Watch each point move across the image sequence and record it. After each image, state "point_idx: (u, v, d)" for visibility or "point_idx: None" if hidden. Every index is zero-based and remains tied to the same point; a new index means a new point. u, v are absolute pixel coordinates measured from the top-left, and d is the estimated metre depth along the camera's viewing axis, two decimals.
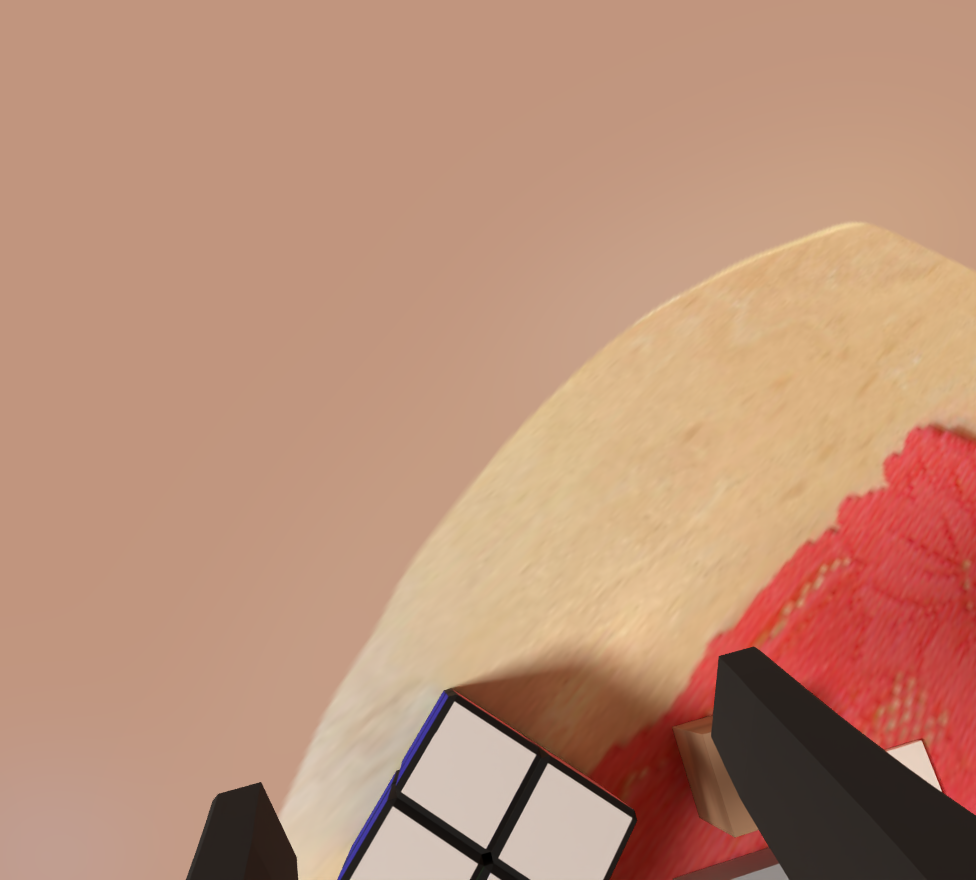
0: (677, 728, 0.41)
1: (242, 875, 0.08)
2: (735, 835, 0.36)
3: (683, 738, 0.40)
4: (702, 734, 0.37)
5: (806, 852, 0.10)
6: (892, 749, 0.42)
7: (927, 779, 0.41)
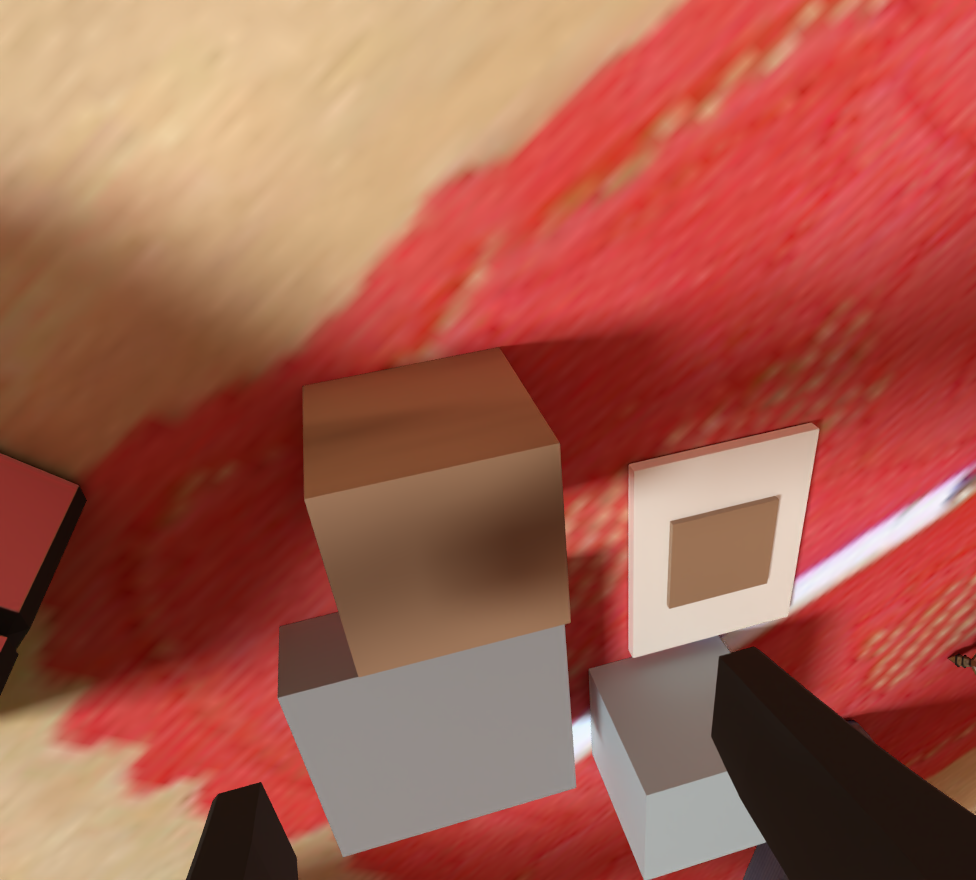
0: (304, 402, 0.16)
1: (242, 875, 0.08)
2: (360, 673, 0.16)
3: None
4: (306, 494, 0.13)
5: (806, 852, 0.10)
6: (759, 441, 0.21)
7: (793, 487, 0.22)
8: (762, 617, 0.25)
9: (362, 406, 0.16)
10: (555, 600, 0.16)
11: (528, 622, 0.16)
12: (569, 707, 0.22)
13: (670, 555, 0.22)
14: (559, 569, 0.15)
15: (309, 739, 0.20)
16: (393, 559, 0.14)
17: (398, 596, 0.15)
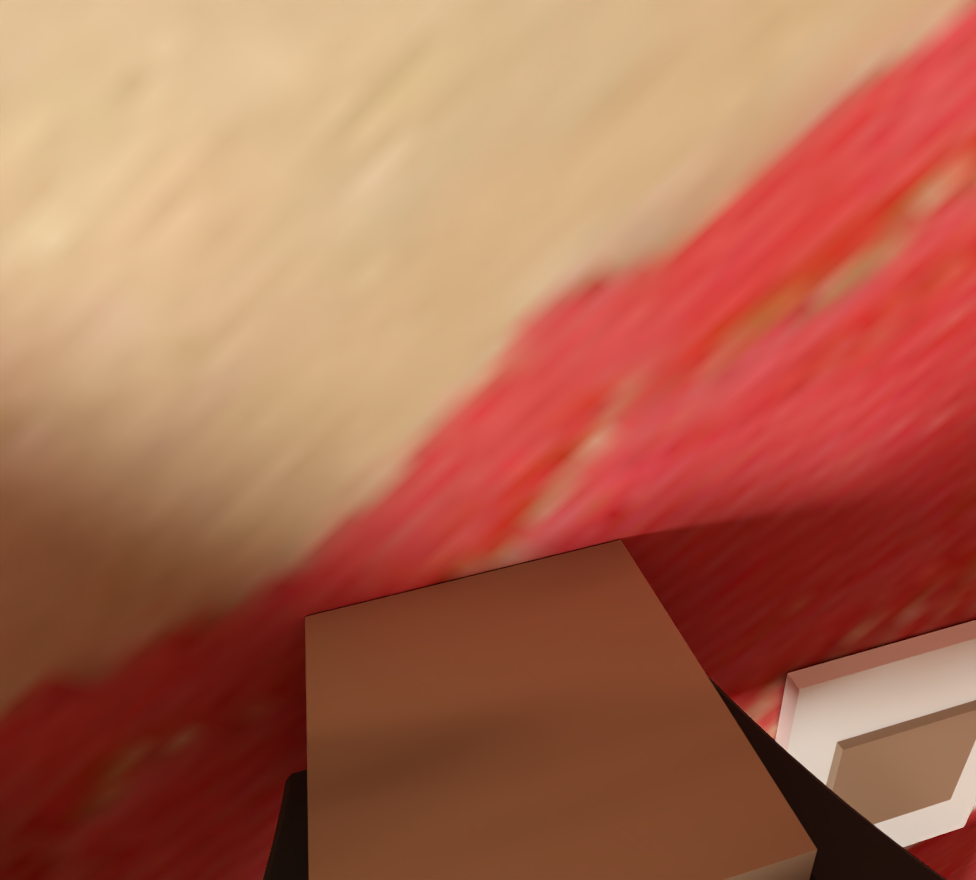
0: (308, 666, 0.10)
1: None
2: None
3: None
4: None
5: None
6: None
7: None
8: (932, 832, 0.18)
9: (410, 688, 0.09)
10: None
11: None
12: None
13: (831, 782, 0.16)
14: None
15: None
16: None
17: None
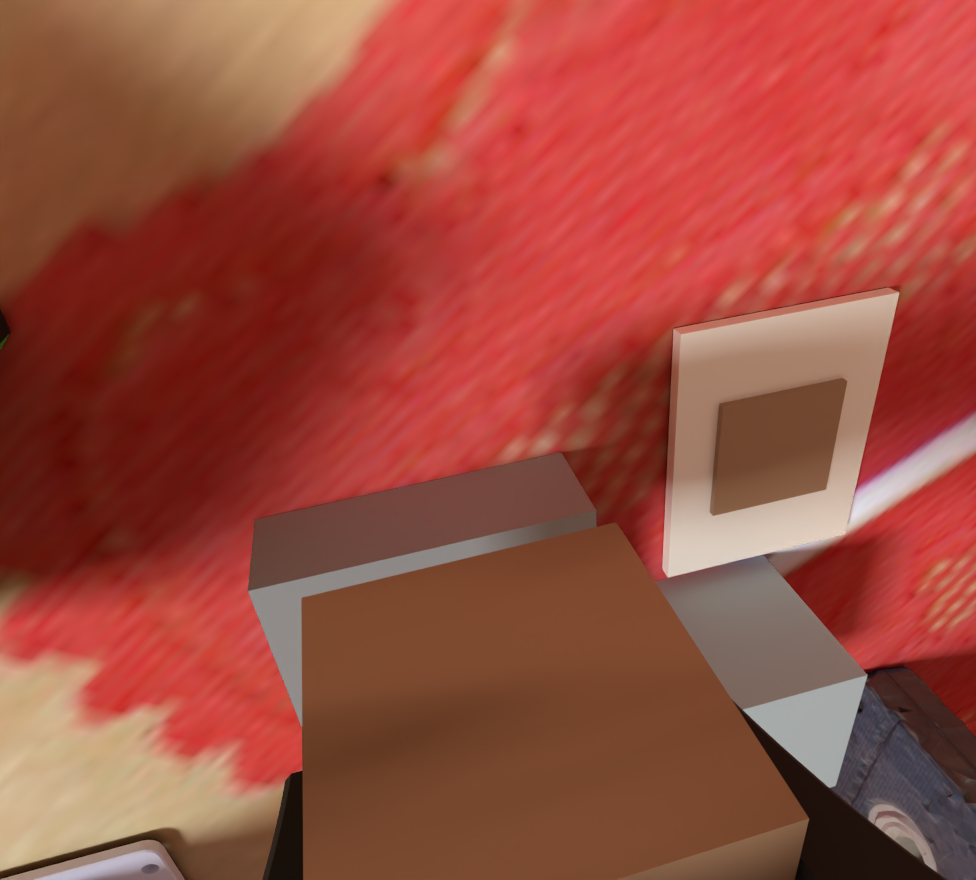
0: (304, 645, 0.10)
1: None
2: None
3: None
4: None
5: None
6: (828, 305, 0.18)
7: (864, 368, 0.19)
8: (817, 533, 0.22)
9: (405, 666, 0.09)
10: None
11: None
12: None
13: (717, 447, 0.19)
14: None
15: (288, 648, 0.16)
16: None
17: None
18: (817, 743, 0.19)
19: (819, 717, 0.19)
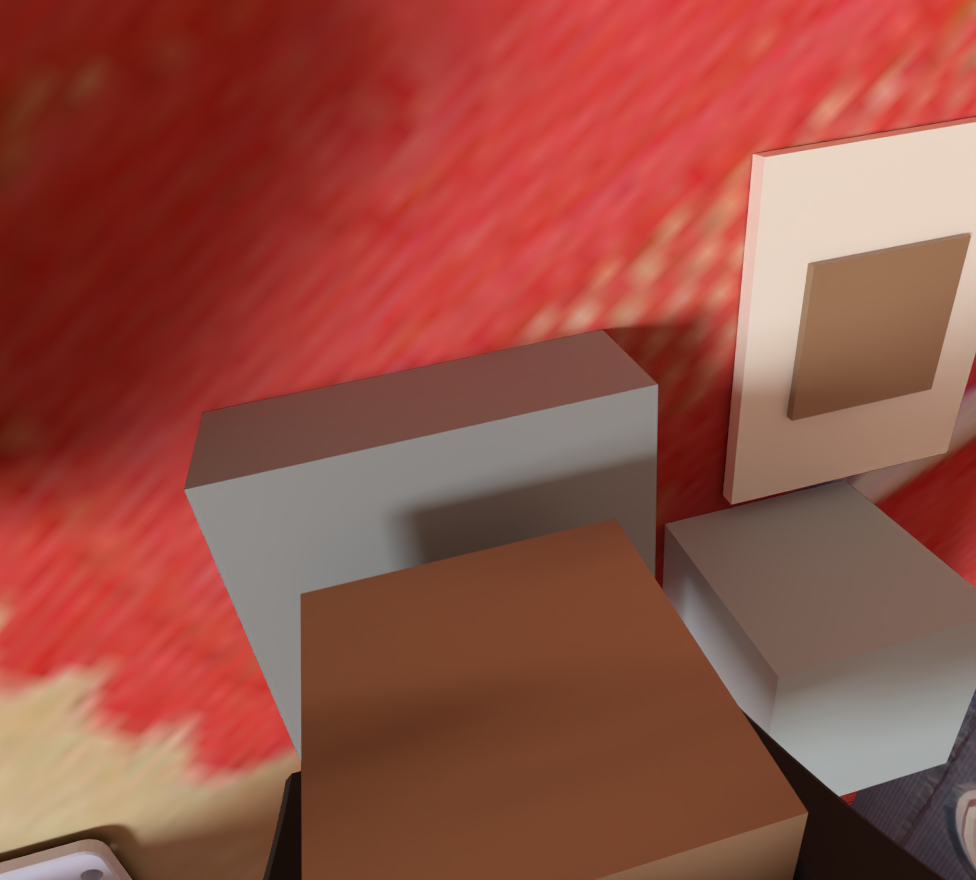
0: (303, 641, 0.10)
1: None
2: None
3: None
4: None
5: None
6: (954, 124, 0.13)
7: None
8: (913, 450, 0.18)
9: (404, 661, 0.09)
10: None
11: None
12: (653, 547, 0.14)
13: (803, 325, 0.15)
14: None
15: (244, 575, 0.12)
16: None
17: None
18: (932, 706, 0.15)
19: (939, 670, 0.14)
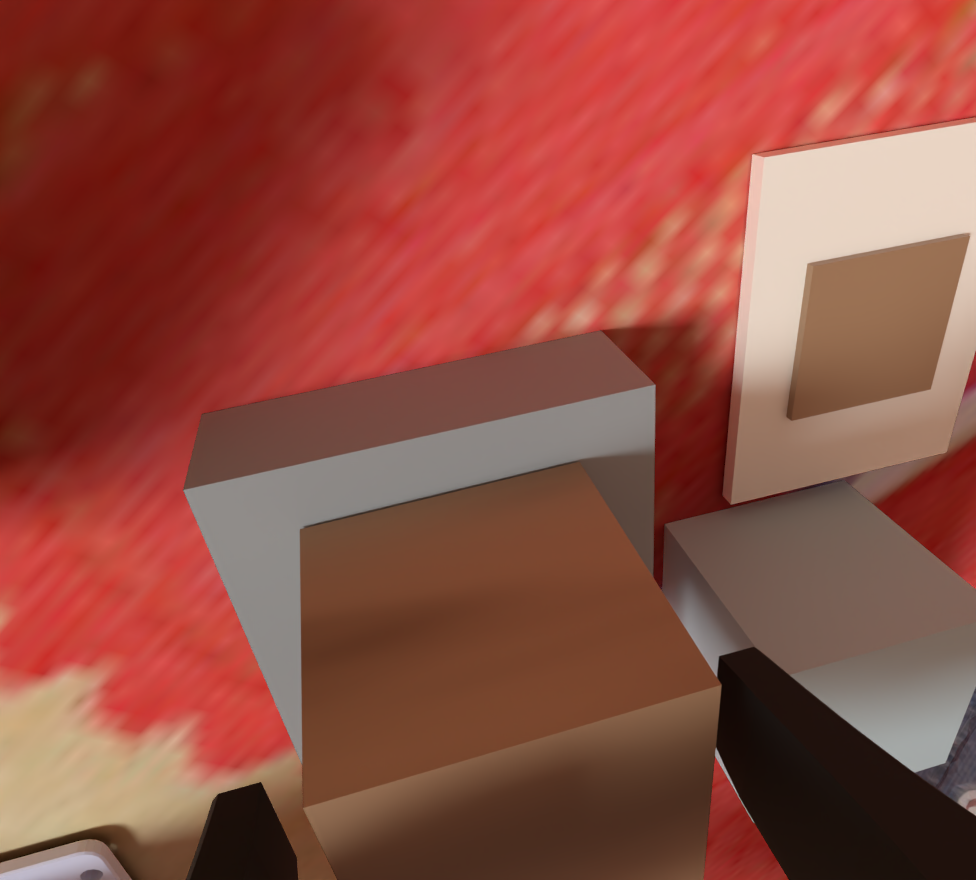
0: (302, 567, 0.11)
1: (242, 875, 0.08)
2: None
3: None
4: (308, 795, 0.08)
5: (806, 852, 0.10)
6: (954, 125, 0.13)
7: None
8: (913, 450, 0.18)
9: (390, 580, 0.11)
10: (684, 868, 0.11)
11: None
12: (652, 547, 0.14)
13: (802, 325, 0.15)
14: (696, 834, 0.10)
15: (244, 575, 0.12)
16: (447, 859, 0.09)
17: None
18: (931, 706, 0.15)
19: (938, 670, 0.14)
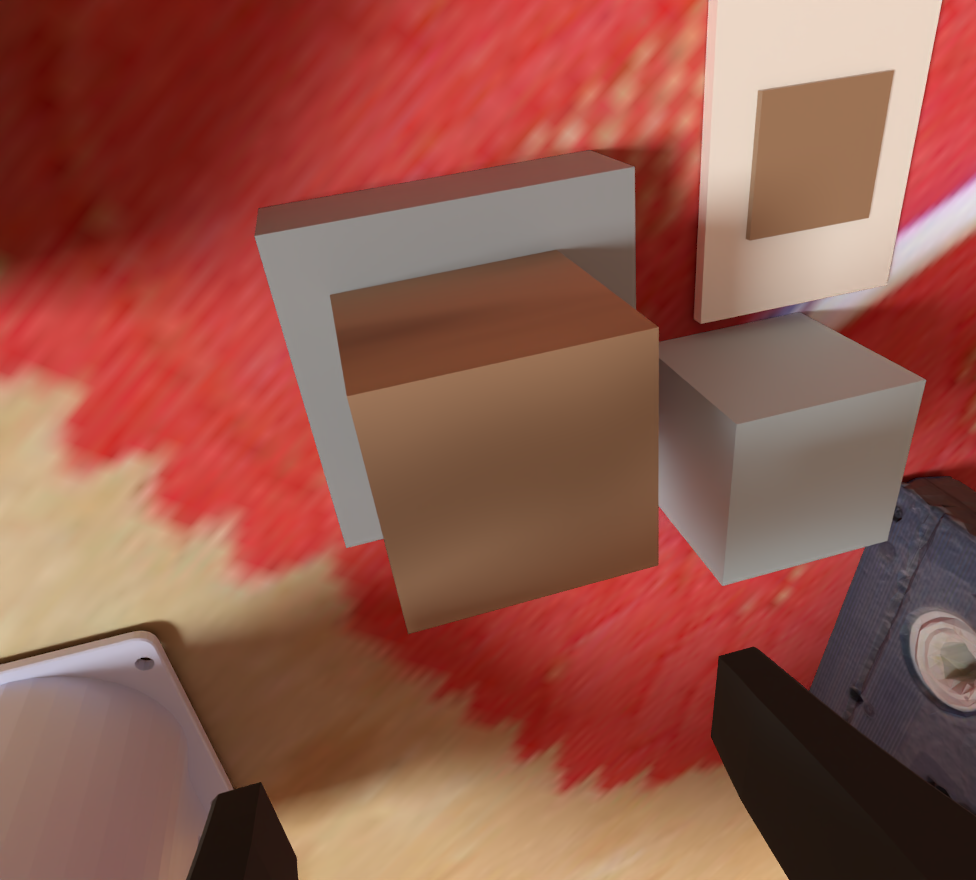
0: (333, 310, 0.14)
1: (243, 875, 0.08)
2: (410, 629, 0.13)
3: None
4: (350, 392, 0.10)
5: (806, 852, 0.10)
6: None
7: (910, 60, 0.17)
8: (857, 281, 0.20)
9: (405, 309, 0.13)
10: (641, 536, 0.13)
11: (609, 564, 0.13)
12: None
13: (755, 148, 0.17)
14: (649, 496, 0.13)
15: (299, 324, 0.15)
16: (453, 480, 0.12)
17: (457, 529, 0.12)
18: (870, 474, 0.18)
19: (873, 434, 0.17)
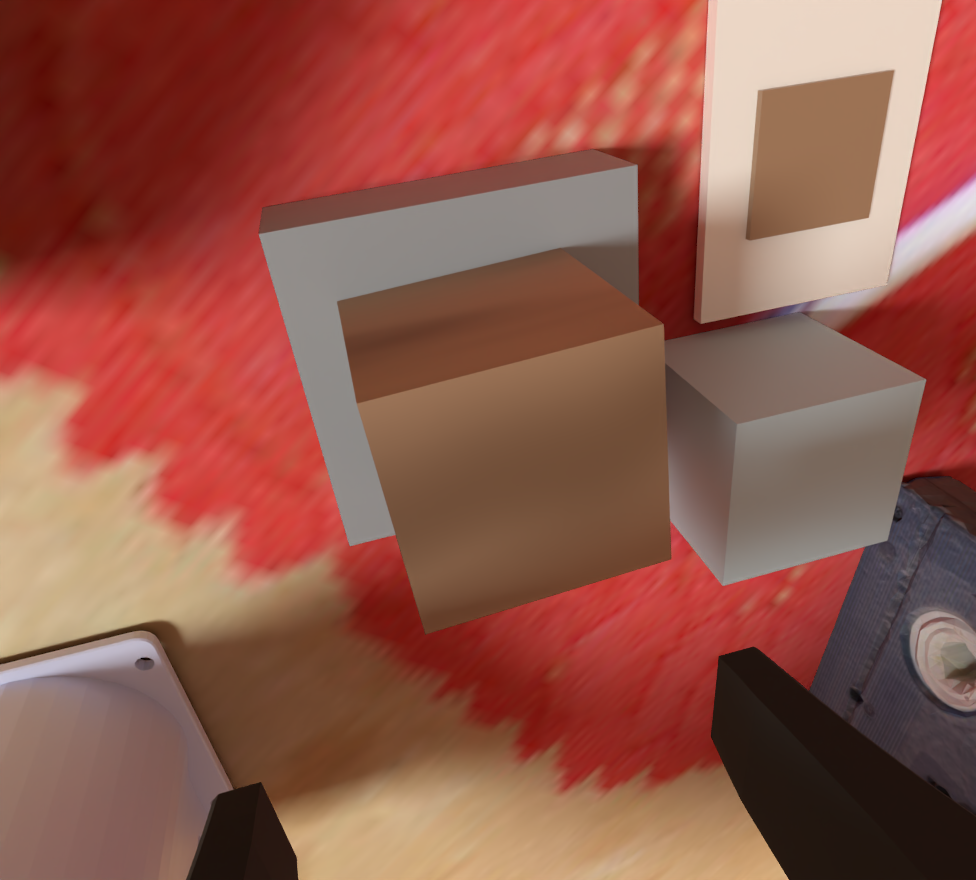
0: (341, 317, 0.14)
1: (243, 875, 0.08)
2: (427, 630, 0.13)
3: None
4: (359, 399, 0.11)
5: (806, 852, 0.10)
6: None
7: (910, 60, 0.17)
8: (857, 281, 0.20)
9: (411, 313, 0.13)
10: (654, 531, 0.13)
11: (622, 560, 0.13)
12: None
13: (755, 148, 0.17)
14: (659, 491, 0.13)
15: (303, 322, 0.15)
16: (464, 482, 0.12)
17: (471, 529, 0.12)
18: (870, 474, 0.18)
19: (873, 434, 0.17)
